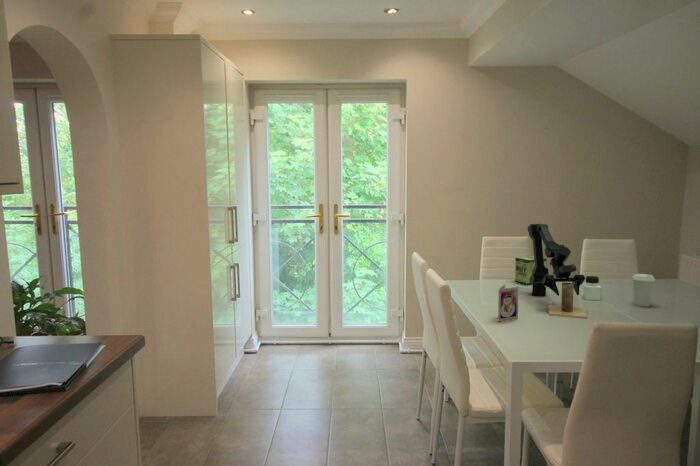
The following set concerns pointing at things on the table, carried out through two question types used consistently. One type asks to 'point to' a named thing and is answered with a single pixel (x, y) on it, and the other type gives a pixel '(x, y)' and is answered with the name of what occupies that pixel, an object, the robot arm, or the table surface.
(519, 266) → the protein box
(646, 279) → the coffee cup
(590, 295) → the medicine bottle
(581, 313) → the beige square board
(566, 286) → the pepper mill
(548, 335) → the table surface
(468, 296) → the table surface
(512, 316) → the greeting card
